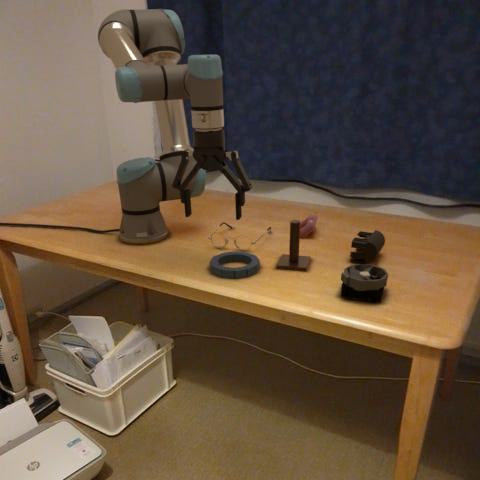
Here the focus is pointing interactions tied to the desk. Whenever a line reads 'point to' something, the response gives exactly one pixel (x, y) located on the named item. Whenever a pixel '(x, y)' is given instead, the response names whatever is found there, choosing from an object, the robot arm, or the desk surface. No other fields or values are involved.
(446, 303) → the desk surface
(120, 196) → the robot arm
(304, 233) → the video game controller
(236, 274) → the dark blue segmented ring
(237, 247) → the eyeglasses
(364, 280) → the cpu cooler
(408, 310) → the desk surface
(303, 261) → the stand
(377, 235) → the end cap
